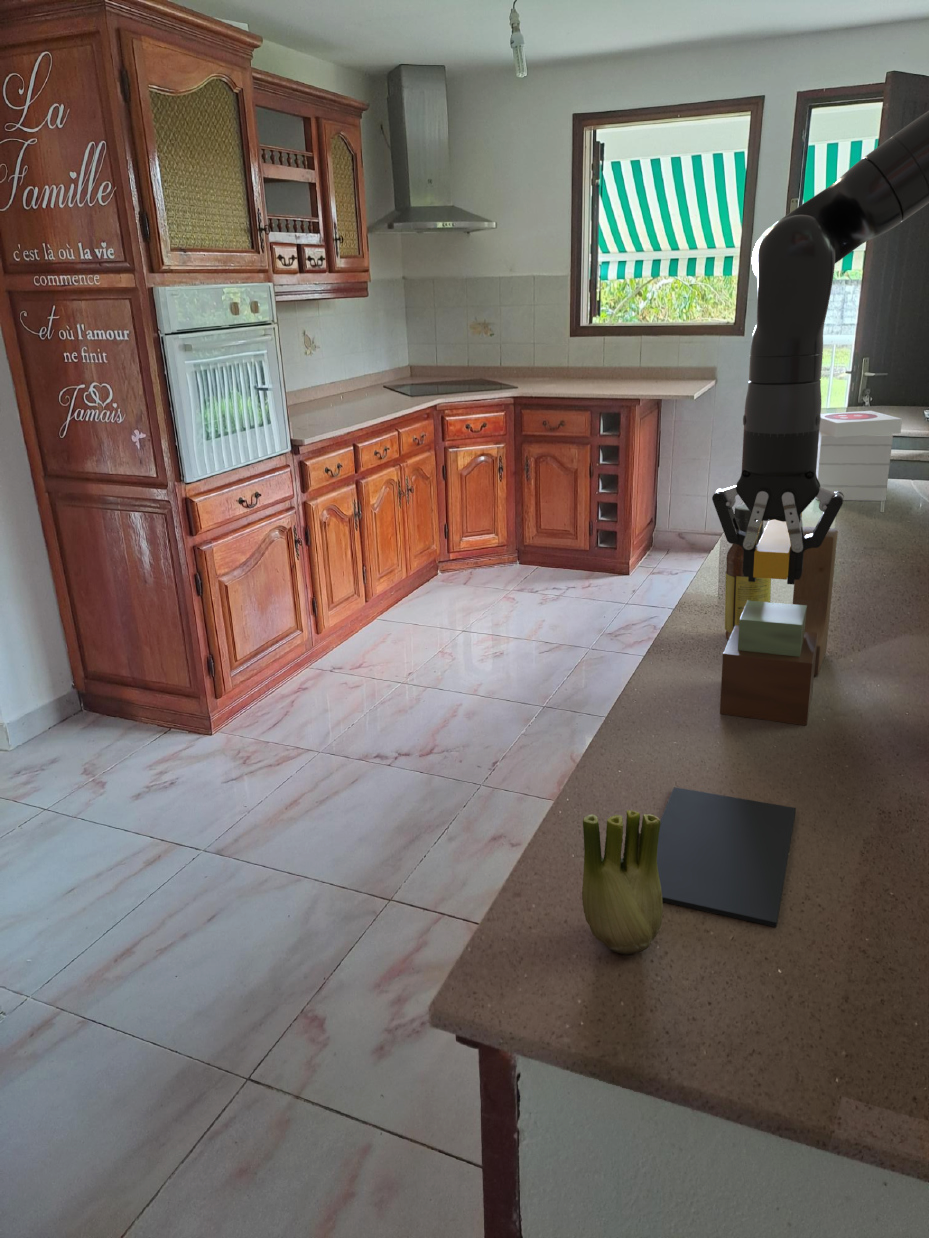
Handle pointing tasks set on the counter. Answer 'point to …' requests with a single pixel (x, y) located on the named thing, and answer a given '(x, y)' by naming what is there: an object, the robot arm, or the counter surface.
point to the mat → (724, 854)
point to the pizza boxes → (856, 453)
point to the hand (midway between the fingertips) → (771, 580)
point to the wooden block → (817, 589)
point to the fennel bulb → (622, 882)
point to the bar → (773, 552)
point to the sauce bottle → (741, 578)
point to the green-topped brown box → (769, 664)
